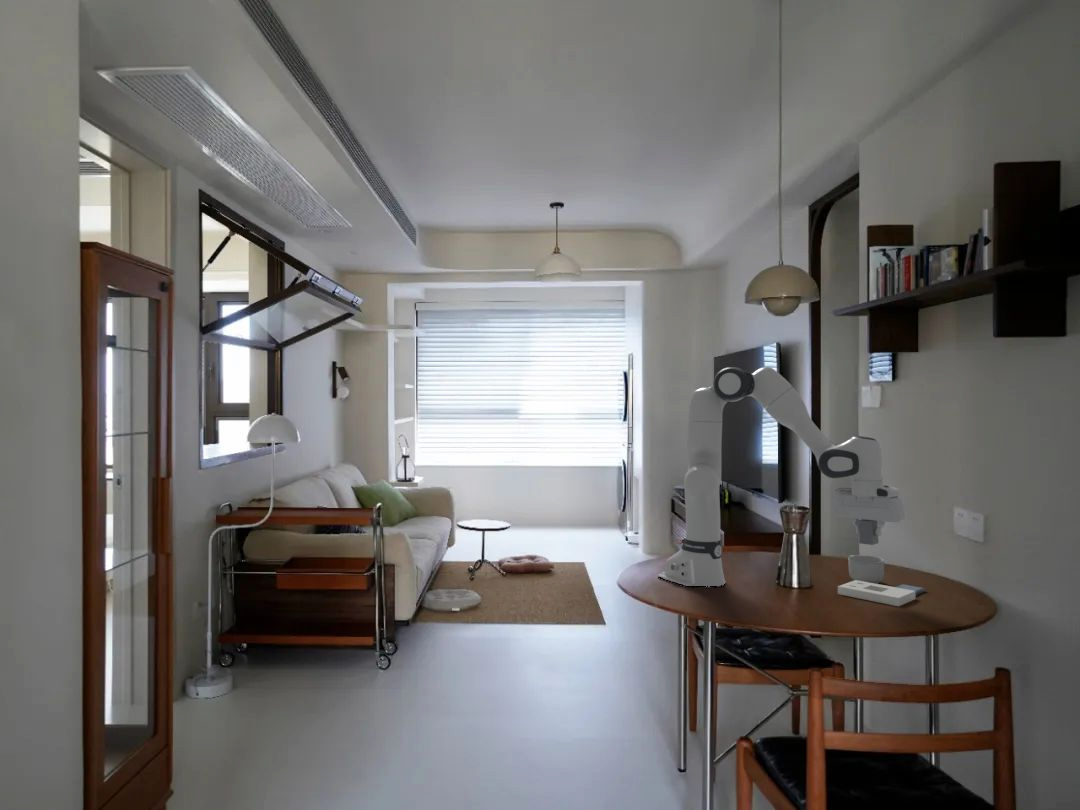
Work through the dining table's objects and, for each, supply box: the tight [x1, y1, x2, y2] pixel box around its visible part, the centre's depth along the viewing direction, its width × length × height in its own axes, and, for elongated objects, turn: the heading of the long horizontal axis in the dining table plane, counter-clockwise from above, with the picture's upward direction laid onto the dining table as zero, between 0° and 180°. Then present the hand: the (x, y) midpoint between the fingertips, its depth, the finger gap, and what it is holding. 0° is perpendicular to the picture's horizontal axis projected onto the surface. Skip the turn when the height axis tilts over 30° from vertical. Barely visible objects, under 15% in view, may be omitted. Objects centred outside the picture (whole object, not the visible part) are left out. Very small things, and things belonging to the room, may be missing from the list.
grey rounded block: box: [847, 554, 885, 584], centre depth 233 cm, size 14×11×8 cm
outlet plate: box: [837, 580, 916, 607], centre depth 214 cm, size 18×12×2 cm, turn 41°
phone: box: [895, 583, 926, 597], centre depth 219 cm, size 7×11×1 cm, turn 131°
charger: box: [858, 519, 879, 546], centre depth 215 cm, size 4×4×7 cm
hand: (868, 534), depth 215 cm, fingers closed on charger, 4 cm apart
